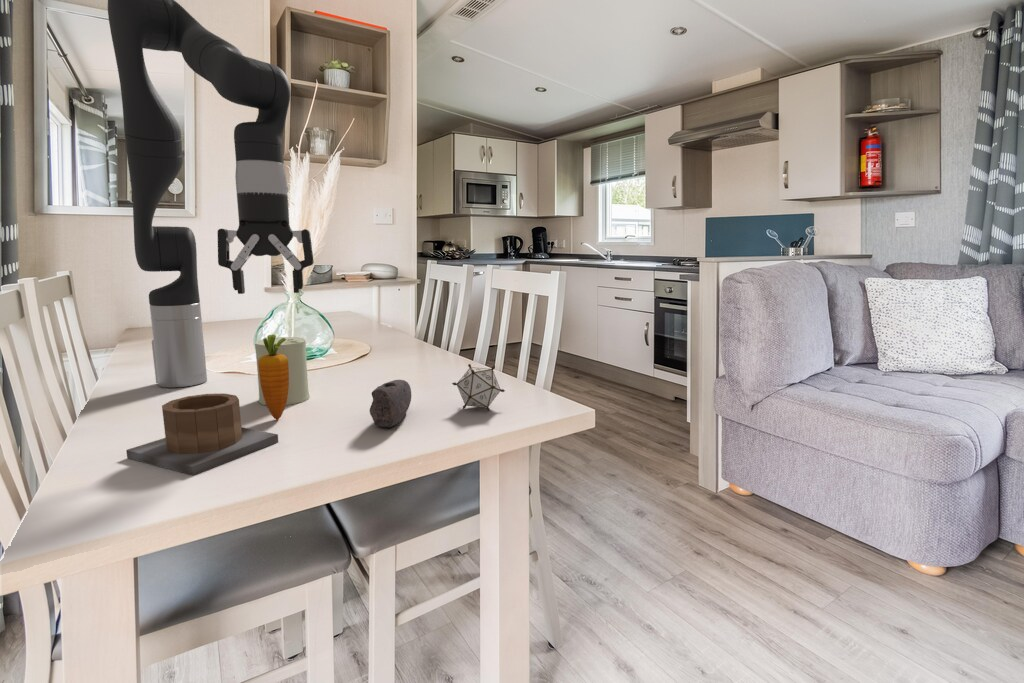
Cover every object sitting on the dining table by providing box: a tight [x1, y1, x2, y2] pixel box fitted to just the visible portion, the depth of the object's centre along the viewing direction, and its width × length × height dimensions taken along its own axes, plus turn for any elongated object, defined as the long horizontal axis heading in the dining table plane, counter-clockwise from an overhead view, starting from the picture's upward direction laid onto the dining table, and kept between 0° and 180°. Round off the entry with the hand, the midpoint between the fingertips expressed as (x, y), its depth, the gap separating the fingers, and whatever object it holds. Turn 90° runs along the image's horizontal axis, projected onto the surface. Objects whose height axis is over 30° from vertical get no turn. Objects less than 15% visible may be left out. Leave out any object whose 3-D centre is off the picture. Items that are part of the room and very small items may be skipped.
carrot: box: [258, 333, 289, 421], centre depth 96 cm, size 5×5×15 cm
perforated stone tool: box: [369, 379, 412, 428], centre depth 97 cm, size 15×5×7 cm, turn 173°
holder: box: [126, 393, 279, 476], centre depth 83 cm, size 14×14×7 cm
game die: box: [451, 363, 506, 412], centre depth 104 cm, size 9×8×10 cm
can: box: [254, 336, 311, 406], centre depth 109 cm, size 9×9×12 cm
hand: (269, 293), depth 94 cm, fingers open, 8 cm apart
